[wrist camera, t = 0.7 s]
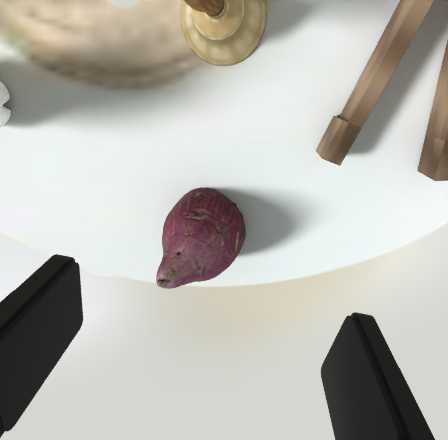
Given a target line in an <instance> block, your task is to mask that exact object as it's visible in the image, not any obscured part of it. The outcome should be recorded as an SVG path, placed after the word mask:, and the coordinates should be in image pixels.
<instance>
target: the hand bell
mask: <svg viewBox="0 0 448 440" xmlns="http://www.w3.org/2000/svg"><path fill="white" fill-rule="evenodd" d="M181 23H182V29H183V32H184V35H185V38H186V40H187V42H188V44H189V46H190V47H191V49H192V50H193V51H194V53H195V54H197V55H198V56H199V57H200V58H201V59H203V60H204V61H206V62H208V63H210V64H213V65H217V66H229V65H233V64H236V63H239V62H241V61H242V60H244V59H245V58H247V57H248V56H249V55H250V54H251V53H252V52H253V51H254V50H255V48H256V47H257V45H258V43H259V41H260V39H261V37H262V35H263V32H264V28H265V23H266V5H265V0H183V1H182V7H181Z"/></svg>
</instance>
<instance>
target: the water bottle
mask: <svg viewBox="0 0 448 440" xmlns="http://www.w3.org/2000/svg"><path fill="white" fill-rule="evenodd" d="M9 98H10V96H9V92H8V90H7V88H6V87H5V85H4V84H3V83H2V82H1V81H0V127H1V126H3V125H4V124H5V123H6V122H7V121H8V119H9V117H10V116H11V110H9V109H7V108H6V107H3V104H4V103H6V102H7V101H8V100H9Z"/></svg>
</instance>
